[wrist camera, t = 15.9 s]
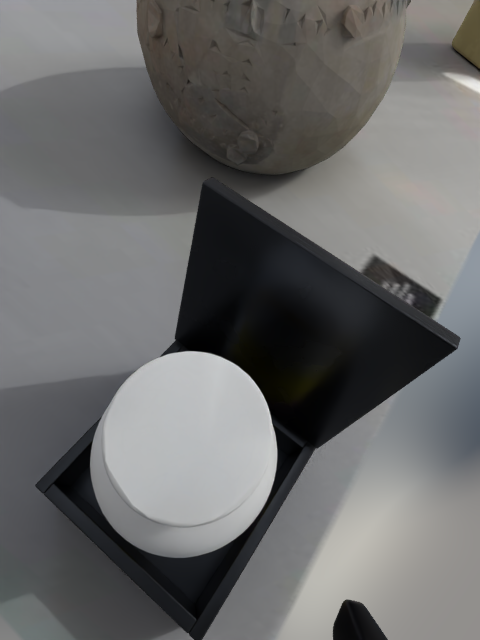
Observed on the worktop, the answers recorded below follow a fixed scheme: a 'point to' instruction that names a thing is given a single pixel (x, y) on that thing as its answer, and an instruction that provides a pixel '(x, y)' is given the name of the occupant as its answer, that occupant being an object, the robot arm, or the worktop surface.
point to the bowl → (271, 74)
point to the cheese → (469, 35)
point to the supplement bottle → (184, 455)
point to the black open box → (166, 572)
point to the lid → (298, 319)
